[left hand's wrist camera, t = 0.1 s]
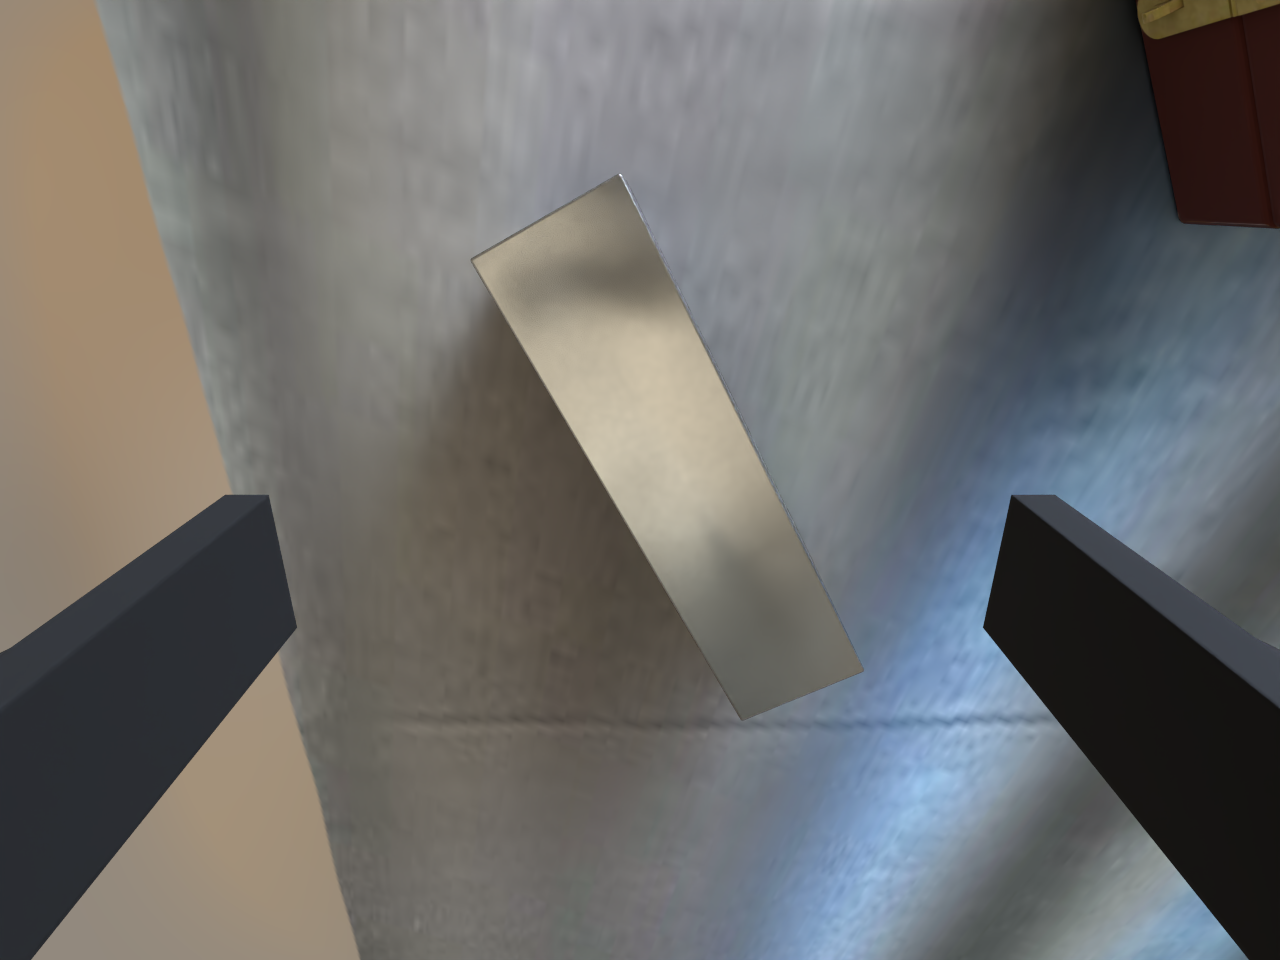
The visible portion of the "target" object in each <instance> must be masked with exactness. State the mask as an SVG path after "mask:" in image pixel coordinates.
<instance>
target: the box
mask: <svg viewBox="0 0 1280 960" xmlns="http://www.w3.org/2000/svg"><path fill="white" fill-rule="evenodd" d="M1136 5H1137V10H1138V19H1139V23H1140V25H1141V30H1142V35H1143V41H1144V46H1145V51H1146V56H1147V61H1148V66H1149V71H1150V76H1151V81H1152V86H1153V91H1154V96H1155V101H1156V106H1157V111H1158V116H1159V121H1160V126H1161V131H1162V136H1163V141H1164V146H1165V151H1166V156H1167V161H1168V166H1169V171H1170V176H1171V181H1172V186H1173V191H1174V196H1175V201H1176V206H1177V211H1178V216H1179V220H1180V221H1181V222H1182V223H1184V224H1200V225H1219V226H1237V227H1256V228H1275V229H1280V0H1136Z"/></svg>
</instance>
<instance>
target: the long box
mask: <svg viewBox="0 0 1280 960" xmlns="http://www.w3.org/2000/svg"><path fill="white" fill-rule="evenodd" d="M471 263H472V264H473V266H474V268H475V269H476V271H477V273H478V275H479V276H480V278H481V280H482V281H483V283H484V285H485V286H486V288H487V290H488V292H489V293H490V295H491V297H492V298H493V300H494V302H495V303H496V305H497V307H498V308H499V310H500V312H501V314H502V315H503V317H504V319H505V320H506V322H507V324H508V325H509V327H510V329H511V331H512V332H513V334H514V336H515V337H516V339H517V341H518V342H519V344H520V346H521V348H522V349H523V351H524V353H525V354H526V356H527V358H528V359H529V361H530V363H531V364H532V366H533V368H534V370H535V371H536V373H537V375H538V376H539V378H540V380H541V381H542V383H543V385H544V387H545V388H546V390H547V392H548V393H549V395H550V397H551V398H552V400H553V402H554V404H555V405H556V407H557V409H558V410H559V412H560V414H561V415H562V417H563V419H564V420H565V422H566V424H567V426H568V427H569V429H570V431H571V432H572V434H573V436H574V437H575V439H576V441H577V443H578V444H579V446H580V448H581V449H582V451H583V453H584V454H585V456H586V458H587V460H588V461H589V463H590V465H591V466H592V468H593V470H594V471H595V473H596V475H597V476H598V478H599V480H600V482H601V483H602V485H603V487H604V488H605V490H606V492H607V493H608V495H609V497H610V499H611V500H612V502H613V504H614V505H615V507H616V509H617V510H618V512H619V514H620V516H621V517H622V519H623V521H624V522H625V524H626V526H627V527H628V529H629V531H630V532H631V534H632V536H633V538H634V539H635V541H636V543H637V544H638V546H639V548H640V549H641V551H642V553H643V555H644V556H645V558H646V560H647V561H648V563H649V565H650V566H651V568H652V570H653V572H654V573H655V575H656V577H657V578H658V580H659V582H660V583H661V585H662V587H663V588H664V590H665V592H666V594H667V595H668V597H669V599H670V600H671V602H672V604H673V605H674V607H675V609H676V611H677V612H678V614H679V616H680V617H681V619H682V621H683V622H684V624H685V626H686V628H687V629H688V631H689V633H690V634H691V636H692V638H693V639H694V641H695V643H696V644H697V646H698V648H699V650H700V651H701V653H702V655H703V656H704V658H705V660H706V661H707V663H708V665H709V667H710V668H711V670H712V672H713V673H714V675H715V677H716V678H717V680H718V682H719V684H720V685H721V687H722V689H723V690H724V692H725V694H726V695H727V697H728V699H729V700H730V702H731V704H732V706H733V707H734V709H735V711H736V712H737V714H738V716H739V717H740V719H741V720H742V721H743V720H746V719H748V718H750V717H753V716H755V715H758V714H760V713H763V712H765V711H768V710H770V709H773V708H775V707H778V706H780V705H782V704H785V703H787V702H790V701H792V700H795V699H797V698H800V697H802V696H805V695H807V694H809V693H812V692H814V691H817V690H819V689H822V688H824V687H827V686H829V685H832V684H834V683H837V682H839V681H841V680H844V679H846V678H849V677H851V676H854V675H856V674H859V673H861V672H863V671H864V668H863V666H862V664H861V662H860V660H859V658H858V655H857V653H856V651H855V649H854V647H853V645H852V643H851V641H850V639H849V636H848V634H847V632H846V630H845V628H844V626H843V624H842V622H841V620H840V617H839V615H838V613H837V611H836V609H835V607H834V605H833V603H832V600H831V598H830V596H829V594H828V592H827V590H826V588H825V586H824V584H823V581H822V579H821V577H820V575H819V573H818V571H817V569H816V567H815V565H814V562H813V560H812V558H811V556H810V554H809V552H808V550H807V548H806V546H805V544H804V542H803V540H802V538H801V536H800V534H799V532H798V529H797V527H796V525H795V523H794V521H793V519H792V517H791V515H790V513H789V511H788V509H787V507H786V505H785V503H784V501H783V499H782V497H781V495H780V493H779V491H778V489H777V487H776V484H775V482H774V480H773V478H772V476H771V474H770V472H769V470H768V468H767V466H766V464H765V462H764V460H763V458H762V456H761V454H760V452H759V450H758V448H757V446H756V444H755V442H754V439H753V437H752V435H751V433H750V431H749V429H748V427H747V425H746V423H745V421H744V419H743V417H742V415H741V413H740V411H739V409H738V407H737V405H736V403H735V401H734V399H733V397H732V394H731V392H730V390H729V388H728V386H727V384H726V382H725V380H724V378H723V376H722V374H721V372H720V370H719V368H718V366H717V364H716V362H715V360H714V358H713V356H712V354H711V352H710V349H709V347H708V345H707V343H706V341H705V339H704V337H703V335H702V333H701V331H700V329H699V327H698V325H697V323H696V321H695V319H694V317H693V315H692V313H691V311H690V309H689V307H688V304H687V302H686V300H685V298H684V296H683V294H682V292H681V290H680V288H679V286H678V284H677V282H676V280H675V278H674V276H673V274H672V272H671V270H670V268H669V266H668V264H667V262H666V259H665V257H664V255H663V253H662V251H661V249H660V247H659V245H658V243H657V241H656V239H655V237H654V235H653V233H652V231H651V229H650V227H649V225H648V223H647V221H646V219H645V217H644V215H643V212H642V210H641V208H640V206H639V204H638V202H637V200H636V198H635V196H634V194H633V192H632V190H631V188H630V186H629V184H628V182H627V180H626V179H625V178H624V177H623V176H622V175H621V174H617V175H615V176H614V177H612V178H610V179H608V180H607V181H605V182H603V183H602V184H600V185H598V186H596V187H595V188H593V189H591V190H589V191H588V192H586V193H584V194H582V195H581V196H579V197H577V198H575V199H574V200H572V201H570V202H569V203H567V204H565V205H563V206H562V207H560V208H558V209H556V210H555V211H553V212H551V213H549V214H548V215H546V216H544V217H542V218H541V219H539V220H537V221H536V222H534V223H532V224H530V225H529V226H527V227H525V228H523V229H522V230H520V231H518V232H516V233H515V234H513V235H511V236H509V237H508V238H506V239H504V240H503V241H501V242H499V243H497V244H496V245H494V246H492V247H490V248H489V249H487V250H485V251H483V252H482V253H480V254H478V255H476V256H475V257H473V258H472V259H471Z"/></svg>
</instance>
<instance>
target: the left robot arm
mask: <svg viewBox="0 0 1280 960" xmlns="http://www.w3.org/2000/svg"><path fill="white" fill-rule="evenodd" d="M296 628H297V625H296V621H295V616H294V611H293V607H292V602H291V597H290V593H289V588H288V583H287V579H286V574H285V569H284V565H283V560H282V555H281V551H280V546H279V541H278V537H277V532H276V527H275V523H274V518H273V513H272V509H271V504H270V499H269V495H224V496H223V497H222V498H220V499H219V500H217V501H216V502H215V503H213V504H212V505H210V506H209V507H208V508H206V509H205V510H203V511H202V512H201V513H199V514H198V515H196V516H195V517H194V518H192V519H191V520H189V521H188V522H186V523H185V524H184V525H182V526H181V527H179V528H178V529H177V530H175V531H174V532H172V533H171V534H170V535H168V536H167V537H165V538H164V539H163V540H161V541H160V542H159V543H157V544H156V545H154V546H153V547H151V548H150V549H149V550H147V551H146V552H144V553H143V554H142V555H140V556H139V557H137V558H136V559H135V560H133V561H132V562H130V563H129V564H128V565H126V566H125V567H123V568H122V569H121V570H119V571H118V572H116V573H115V574H114V575H112V576H111V577H109V578H108V579H107V580H105V581H104V582H102V583H101V584H100V585H98V586H97V587H95V588H94V589H93V590H91V591H90V592H88V593H87V594H86V595H84V596H83V597H81V598H80V599H79V600H77V601H76V602H74V603H73V604H71V605H70V606H69V607H67V608H66V609H65V610H63V611H62V612H60V613H59V614H58V615H56V616H55V617H53V618H52V619H50V620H49V621H48V622H46V623H45V624H43V625H42V626H41V627H39V628H38V629H37V630H35V631H34V632H32V633H31V634H29V635H28V636H27V637H25V638H24V639H22V640H21V641H20V642H18V643H17V644H15V645H14V646H13V647H11V648H9V649H7V650H5V651H3V652H1V653H0V960H31V959H32V958H33V956H34V955H35V954H36V953H37V952H38V950H39V949H40V948H41V947H42V945H43V944H44V943H45V942H46V940H47V939H48V938H49V937H50V935H51V934H52V933H53V931H54V930H55V929H56V928H57V927H58V925H59V924H60V923H61V922H62V920H63V919H64V918H65V917H66V915H67V914H68V913H69V912H70V910H71V909H72V908H73V907H74V905H75V904H76V903H77V902H78V900H79V899H80V898H81V897H82V895H83V894H84V893H85V892H86V890H87V889H88V888H89V887H90V885H91V884H92V883H93V882H94V880H95V879H96V878H97V877H98V875H99V874H100V873H101V872H102V870H103V869H104V868H105V867H106V865H107V864H108V863H109V862H110V860H111V859H112V858H113V857H114V855H115V854H116V853H117V852H118V850H119V849H120V848H121V847H122V845H123V844H124V843H125V842H126V840H127V839H128V838H129V837H130V835H131V834H132V833H133V832H134V830H135V829H136V828H137V827H138V825H139V824H140V823H141V822H142V820H143V819H144V818H145V817H146V815H147V814H148V813H149V812H150V810H151V809H152V808H153V807H154V805H155V804H156V803H157V802H158V800H159V799H160V798H161V797H162V795H163V794H164V793H165V792H166V790H167V789H168V788H169V787H170V785H171V784H172V783H173V782H174V780H175V779H176V778H177V777H178V775H179V774H180V773H181V772H182V770H183V769H184V768H185V767H186V765H187V764H188V763H189V762H190V760H191V759H192V758H193V757H194V755H195V754H196V753H197V752H198V750H199V749H200V748H201V747H202V745H203V744H204V743H205V742H206V740H207V739H208V738H209V737H210V735H211V734H212V733H213V732H214V730H215V729H216V728H217V727H218V725H219V724H220V723H221V722H222V721H223V719H224V718H225V717H226V716H227V714H228V713H229V712H230V711H231V709H232V708H233V707H234V706H235V704H236V703H237V702H238V701H239V699H240V698H241V697H242V696H243V694H244V693H245V692H246V690H247V689H248V688H249V687H250V686H251V684H252V683H253V682H254V681H255V679H256V678H257V677H258V675H259V674H260V673H261V672H262V671H263V669H264V668H265V667H266V666H267V664H268V663H269V662H270V661H271V659H272V658H273V657H274V656H275V654H276V653H277V652H278V651H279V649H280V648H281V647H282V646H283V644H284V643H285V642H286V641H287V639H288V638H289V637H290V636H291V634H292V633H293V632H294V631H295V629H296ZM983 628H984V629H985V631H986V632H987V633H988V634H989V636H990V637H991V638H992V639H993V641H994V642H995V643H996V644H997V646H998V647H999V648H1000V649H1001V651H1002V652H1003V653H1004V654H1005V656H1006V657H1007V658H1008V659H1009V661H1010V662H1011V663H1012V664H1013V666H1014V667H1015V668H1016V669H1017V671H1018V672H1019V673H1020V674H1021V676H1022V677H1023V678H1024V679H1025V681H1026V682H1027V683H1028V684H1029V686H1030V687H1031V688H1032V689H1033V691H1034V692H1035V693H1036V694H1037V696H1038V697H1039V698H1040V699H1041V701H1042V702H1043V703H1044V704H1045V706H1046V707H1047V708H1048V709H1049V711H1050V712H1051V713H1052V714H1053V716H1054V717H1055V718H1056V719H1057V720H1058V722H1059V723H1060V724H1061V725H1062V727H1063V728H1064V729H1065V730H1066V732H1067V733H1068V734H1069V735H1070V737H1071V738H1072V739H1073V740H1074V742H1075V743H1076V744H1077V745H1078V747H1079V748H1080V749H1081V750H1082V752H1083V753H1084V754H1085V755H1086V757H1087V758H1088V759H1089V760H1090V762H1091V763H1092V764H1093V765H1094V767H1095V768H1096V769H1097V770H1098V772H1099V773H1100V774H1101V775H1102V777H1103V778H1104V779H1105V780H1106V782H1107V783H1108V784H1109V785H1110V787H1111V788H1112V789H1113V790H1114V792H1115V793H1116V794H1117V795H1118V797H1119V798H1120V799H1121V800H1122V802H1123V803H1124V804H1125V805H1126V807H1127V808H1128V809H1129V810H1130V812H1131V813H1132V814H1133V815H1134V817H1135V818H1136V819H1137V820H1138V822H1139V823H1140V824H1141V825H1142V827H1143V828H1144V829H1145V830H1146V832H1147V833H1148V834H1149V835H1150V837H1151V838H1152V839H1153V840H1154V842H1155V843H1156V844H1157V845H1158V847H1159V848H1160V849H1161V850H1162V852H1163V853H1164V854H1165V855H1166V857H1167V858H1168V859H1169V860H1170V862H1171V863H1172V864H1173V865H1174V867H1175V868H1176V869H1177V870H1178V872H1179V873H1180V874H1181V875H1182V877H1183V878H1184V879H1185V880H1186V882H1187V883H1188V884H1189V885H1190V887H1191V888H1192V889H1193V890H1194V892H1195V893H1196V894H1197V895H1198V897H1199V898H1200V899H1201V900H1202V902H1203V903H1204V904H1205V905H1206V907H1207V908H1208V909H1209V910H1210V912H1211V913H1212V914H1213V915H1214V917H1215V918H1216V919H1217V920H1218V922H1219V923H1220V924H1221V925H1222V927H1223V928H1224V929H1225V930H1226V932H1227V933H1228V934H1229V935H1230V937H1231V938H1232V939H1233V940H1234V942H1235V943H1236V944H1237V945H1238V947H1239V948H1240V949H1241V950H1242V952H1243V953H1244V954H1245V955H1246V956H1247V958H1248V959H1249V960H1280V650H1279V649H1277V648H1275V647H1273V646H1271V645H1269V644H1267V643H1264V642H1262V641H1260V640H1258V639H1256V638H1255V637H1253V636H1252V635H1251V634H1249V633H1248V632H1246V631H1245V630H1244V629H1242V628H1241V627H1239V626H1238V625H1237V624H1235V623H1234V622H1232V621H1231V620H1230V619H1228V618H1227V617H1225V616H1224V615H1223V614H1221V613H1220V612H1218V611H1217V610H1216V609H1214V608H1213V607H1211V606H1210V605H1209V604H1207V603H1206V602H1204V601H1203V600H1202V599H1200V598H1199V597H1197V596H1196V595H1194V594H1193V593H1192V592H1190V591H1189V590H1187V589H1186V588H1185V587H1183V586H1182V585H1180V584H1179V583H1178V582H1176V581H1175V580H1173V579H1172V578H1171V577H1169V576H1168V575H1166V574H1165V573H1164V572H1162V571H1161V570H1159V569H1158V568H1157V567H1155V566H1154V565H1152V564H1151V563H1150V562H1148V561H1147V560H1145V559H1144V558H1143V557H1141V556H1140V555H1138V554H1137V553H1136V552H1134V551H1133V550H1131V549H1130V548H1129V547H1127V546H1126V545H1124V544H1123V543H1122V542H1120V541H1119V540H1117V539H1116V538H1115V537H1113V536H1112V535H1110V534H1109V533H1108V532H1106V531H1105V530H1103V529H1102V528H1101V527H1099V526H1098V525H1096V524H1095V523H1094V522H1092V521H1091V520H1089V519H1088V518H1086V517H1085V516H1084V515H1082V514H1081V513H1079V512H1078V511H1077V510H1075V509H1074V508H1072V507H1071V506H1070V505H1068V504H1067V503H1065V502H1064V501H1063V500H1061V499H1060V498H1058V497H1057V496H1056V495H1011V499H1010V504H1009V509H1008V513H1007V518H1006V523H1005V527H1004V532H1003V537H1002V541H1001V546H1000V551H999V555H998V560H997V565H996V569H995V574H994V579H993V583H992V588H991V593H990V597H989V602H988V607H987V611H986V616H985V621H984V626H983Z"/></svg>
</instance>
